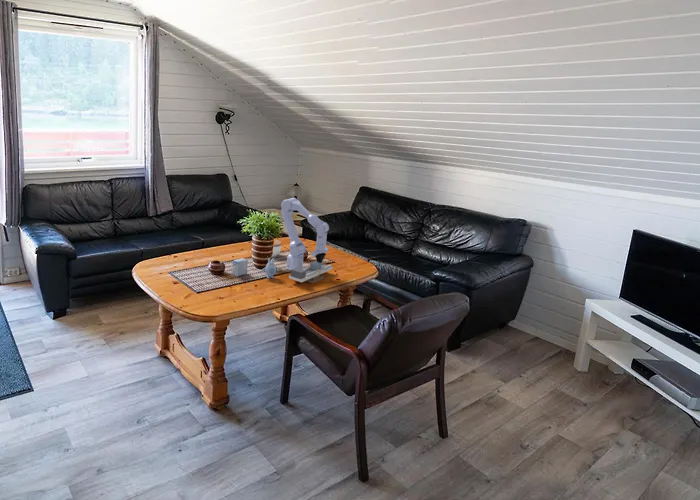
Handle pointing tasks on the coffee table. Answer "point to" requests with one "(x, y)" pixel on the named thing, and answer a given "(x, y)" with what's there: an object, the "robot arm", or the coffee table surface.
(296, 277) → the balance beam
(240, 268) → the medicine box
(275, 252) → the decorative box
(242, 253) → the coffee table surface
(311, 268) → the rider
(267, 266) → the toy figure
